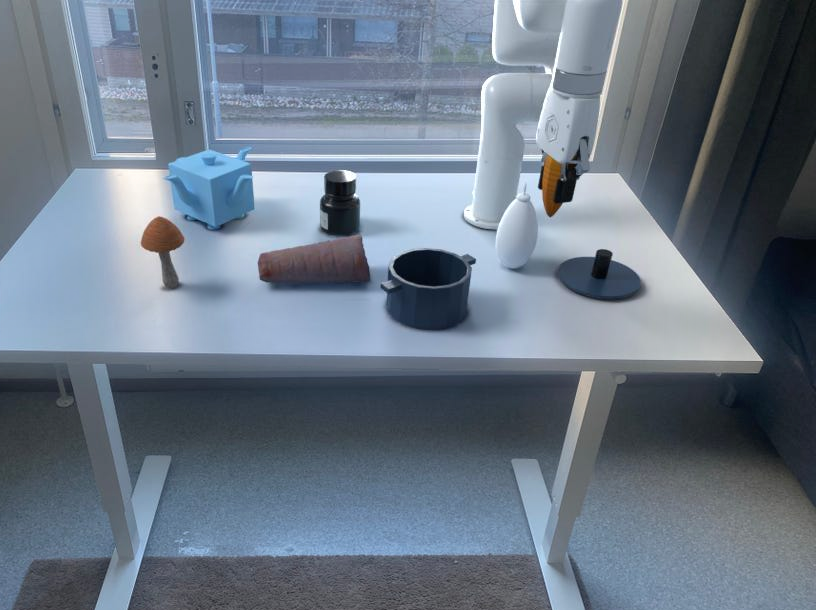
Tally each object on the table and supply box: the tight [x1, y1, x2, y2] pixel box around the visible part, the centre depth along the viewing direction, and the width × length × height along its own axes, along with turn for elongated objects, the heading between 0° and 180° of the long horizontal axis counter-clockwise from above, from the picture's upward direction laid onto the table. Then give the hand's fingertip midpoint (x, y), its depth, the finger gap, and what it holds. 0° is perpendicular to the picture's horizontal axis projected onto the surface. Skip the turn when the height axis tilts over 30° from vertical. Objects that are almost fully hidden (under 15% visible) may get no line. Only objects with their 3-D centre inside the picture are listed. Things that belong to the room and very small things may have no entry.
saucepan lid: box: [556, 248, 642, 300], centre depth 136 cm, size 16×16×6 cm
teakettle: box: [163, 146, 255, 230], centre depth 157 cm, size 19×19×15 cm
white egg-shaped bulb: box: [495, 182, 539, 270], centre depth 137 cm, size 8×8×18 cm
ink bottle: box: [319, 169, 361, 236], centre depth 153 cm, size 10×9×12 cm
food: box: [257, 234, 371, 285], centre depth 135 cm, size 21×9×9 cm, turn 99°
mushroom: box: [140, 215, 186, 290], centre depth 131 cm, size 8×8×15 cm
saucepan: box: [380, 247, 477, 331], centre depth 128 cm, size 15×20×8 cm
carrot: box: [541, 155, 575, 218], centre depth 114 cm, size 5×5×15 cm
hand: (554, 194), depth 116 cm, fingers closed on carrot, 4 cm apart
